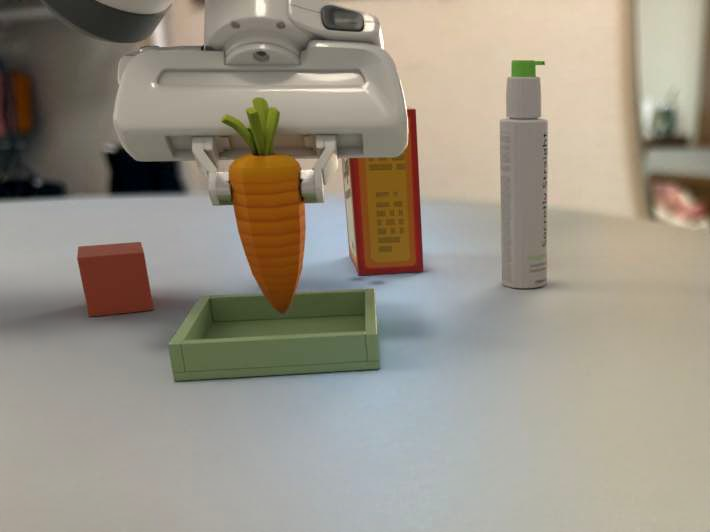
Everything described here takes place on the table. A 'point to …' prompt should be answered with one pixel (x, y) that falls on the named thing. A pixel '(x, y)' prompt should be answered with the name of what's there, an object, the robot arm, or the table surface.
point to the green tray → (276, 335)
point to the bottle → (524, 180)
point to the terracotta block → (114, 278)
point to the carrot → (268, 206)
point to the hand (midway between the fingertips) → (268, 199)
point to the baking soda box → (385, 210)
